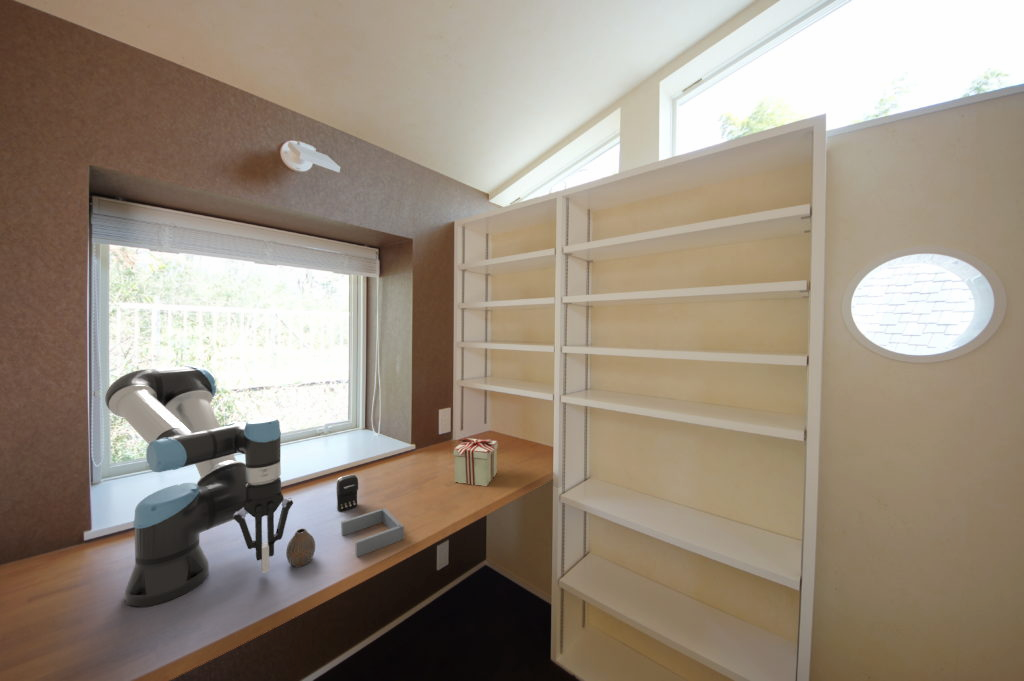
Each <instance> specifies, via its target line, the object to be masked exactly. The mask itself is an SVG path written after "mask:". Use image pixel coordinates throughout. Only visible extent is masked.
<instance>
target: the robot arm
mask: <svg viewBox="0 0 1024 681" xmlns="http://www.w3.org/2000/svg"><path fill="white" fill-rule="evenodd" d="M214 377H215V376H214V375H213V374H212V372H211V371H209V369H208V368H205V367H203V366H189V365H188V366H183V367H170V368H169V367H168V368H154V369H153V368H152V369H139V370H136V371H132V372H129V373H126V374H124V375H122V376H121V377H119V378H118V379H116V380H115V381H114V382H113V383H112V384H110V386H109V387H108V389H107V390H106V393H105V396H104V400H105V401H104V402H105V405H106V407H107V409H109V411H110V412H111V413H112V414H113V415H115V416H117V417H119V418H123V419H125V421H127V423H128V424H129V425H130V426H131V427H132V428H133V429H134V431H136V432H137V434H138V435H140V437H141V438H142V439H143V440H144V441H145V442H146V443H147V444H148V445H147V447H146V452H145V453H146V455H145V456H146V463H147V464H148V467H149V469H150V470H151V471H152V472H154V473H164V472H168V471H176V470H178V469H182V468H184V467H189V466H191V465H195V466H196V469H197V471H198V474H199V476H200V478H199V480H198V481H197V483H195V482H184V483H181V484H175V485H174V484H173V485H169V486H168V487H164V488H162V489H159V490H157V491H155V492H153V493H151V494H149V495H148V496H146V497H144V498H143V499H142V500H140V501H139V502H138V504H137V505H136V507H135V509H134V518H133V522H132V523H133V524H132V526H133V528H134V554H135V555H134V556H135V557H134V558H135V560H134V567H133V569H132V572H131V574H130V577H129V580H128V582H127V585H126V588H125V592H124V597H125V599H124V600H125V601H126V602H125V603H126V605H128V604H129V605H128V606H130V605H132V606H131V607H134V606H144V607H149V606H154V605H158V604H162V603H165V602H168V601H171V600H173V599H174V600H175V599H176V598H178V597H181V596H182V595H185V594H186V593H188V592H190V591H192V590H193V589H195V588H196V587H198V586H199V585H200V584H201V583H203V581H205V579H206V578H207V577H208V575H209V573H210V569H209V568H210V566H209V560H208V558H207V557H206V555H205V553H204V550H203V549H202V547H201V544H200V534H201V533H202V532H206V531H208V530H210V529H213V528H215V527H218V526H221V525H223V524H226V523H229V522H232V521H236V522H237V524H239V527H240V529H241V530H240V531H241V533H242V535H243V538H244V541H245V545H246V548H247V549H248V550H251V549H255V558H256V561H257V562H258V561H260V562H261V563H260V565H261V567H260V568H261V569H260V570H261V573H262V574H265V573H267V572H268V573H269V572H270V557H273V556H274V555H275V542H277V541H280V540H281V539H282V538H283V535H284V531H285V528H286V523H287V518H288V514H289V512H290V509H291V508H292V505H293V504H294V501H293V499H292V498H291V497H288V498H286V497H284V495H283V493H282V478H281V475H282V472H281V470H282V469H281V436H282V433H281V432H282V431H281V425H280V421H279V420H278V419H277V418H275V417H274V418H273V417H270V418H269V417H264V418H263V417H262V418H255V419H252V420H249V421H247V422H246V421H233V422H232V421H231V422H229V423H227V424H225V425H224V426H221V425H220V423H219V421H218V418H217V416H216V415H215V412H214V410H213V408H212V406H211V403H212V401H213V399H214V397H215V396H216V392H217V385H216V380H215V378H214ZM235 454H243V455H244V458H245V459H244V460H245V463H244V462H242V461H237V459H236V457H235ZM280 505H281V507H282V508H281V510H280V515H279V519H278V523H277V526H276V532H275V521H274V520H275V519H274V518H275V515H274V514H275V512H276V511H277V510H278V508H279V506H280ZM248 514H249V515H250V516H252V517H253V518H254V526H255V527H254V528H255V529H254V530H255V532H254V534H255V536H254V537H255V539H254V540H253V538H252V536H251V533H250V530H249V527H248V524H247V520H246V519H245V518H246V516H247V515H248ZM263 517H266V527H267V528H266V530H267V533H266V534H267V535H266V536H267V541H265V542H263V528H262V527H263V526H262V525H263Z"/></svg>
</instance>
